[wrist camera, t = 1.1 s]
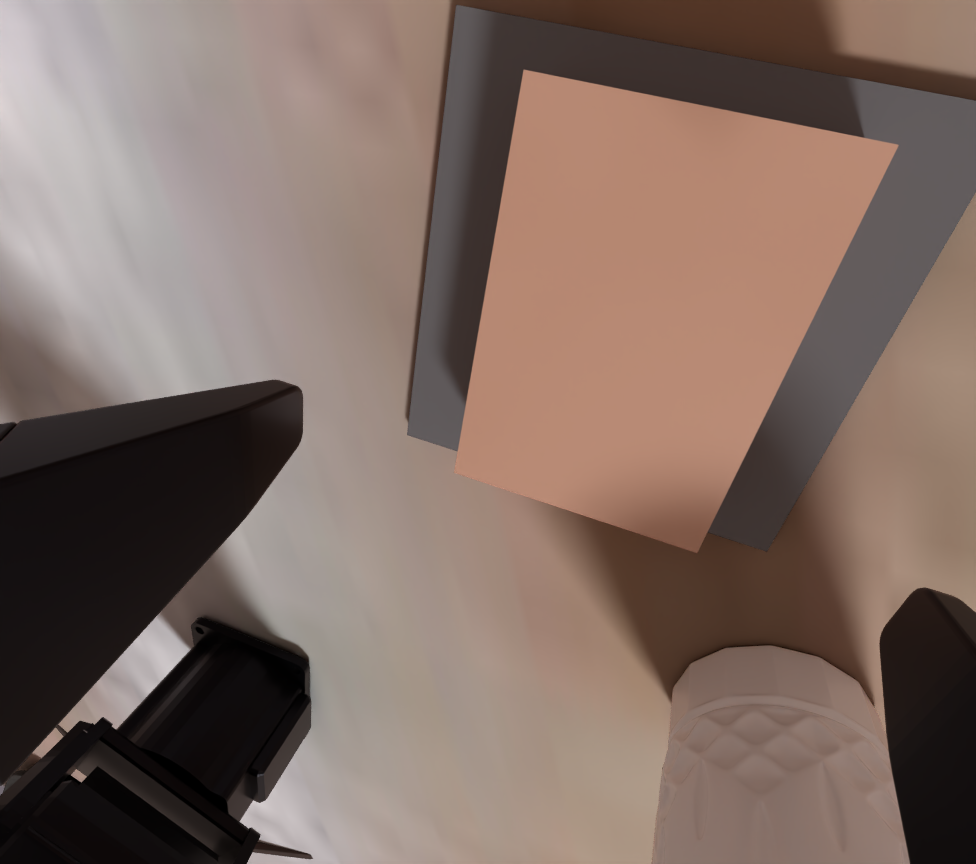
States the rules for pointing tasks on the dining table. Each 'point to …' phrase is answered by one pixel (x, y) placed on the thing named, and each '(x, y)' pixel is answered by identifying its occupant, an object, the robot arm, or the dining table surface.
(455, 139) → the rubber mat
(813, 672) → the white cup
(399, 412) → the dining table surface
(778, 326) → the terracotta tile
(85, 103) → the dining table surface
